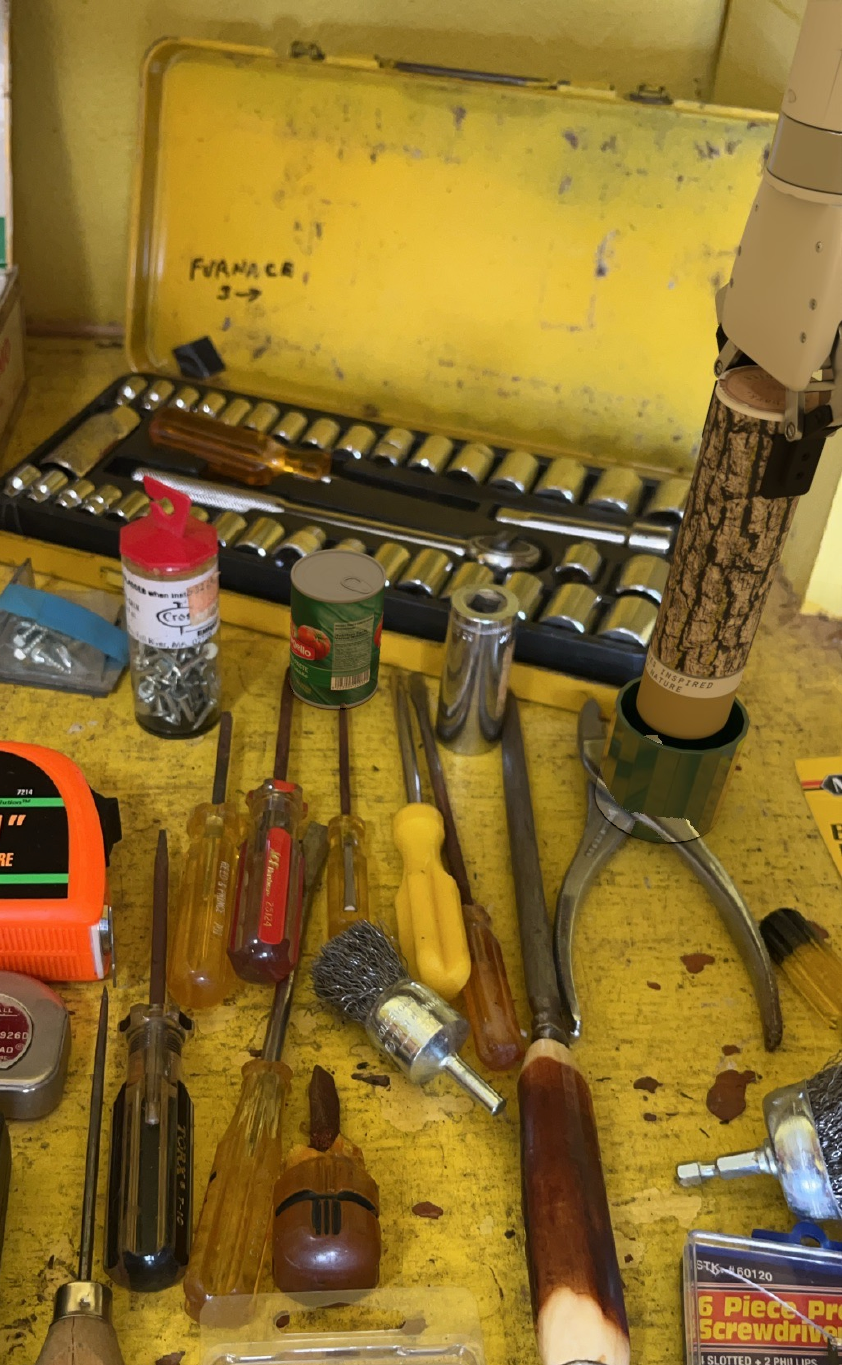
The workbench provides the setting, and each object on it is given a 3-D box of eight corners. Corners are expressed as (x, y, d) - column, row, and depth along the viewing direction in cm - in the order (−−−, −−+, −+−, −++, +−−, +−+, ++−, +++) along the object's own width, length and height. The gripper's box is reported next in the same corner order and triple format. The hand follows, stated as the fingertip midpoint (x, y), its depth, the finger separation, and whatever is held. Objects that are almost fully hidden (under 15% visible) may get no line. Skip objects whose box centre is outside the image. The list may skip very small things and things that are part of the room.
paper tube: (721, 752, 91) (829, 421, 73) (627, 732, 93) (711, 402, 75) (730, 699, 96) (834, 374, 78) (640, 680, 97) (722, 358, 79)
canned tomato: (270, 683, 110) (270, 573, 103) (329, 645, 114) (333, 537, 107) (338, 722, 107) (343, 611, 99) (396, 682, 111) (406, 572, 103)
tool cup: (684, 754, 104) (711, 665, 98) (741, 832, 98) (773, 742, 91) (574, 771, 103) (595, 681, 96) (625, 852, 96) (650, 761, 90)
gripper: (1004, 202, 62) (880, 528, 75) (819, 107, 74) (739, 402, 87) (870, 212, 61) (767, 542, 73) (703, 113, 72) (640, 412, 85)
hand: (753, 464), depth 80 cm, fingers closed on paper tube, 6 cm apart
